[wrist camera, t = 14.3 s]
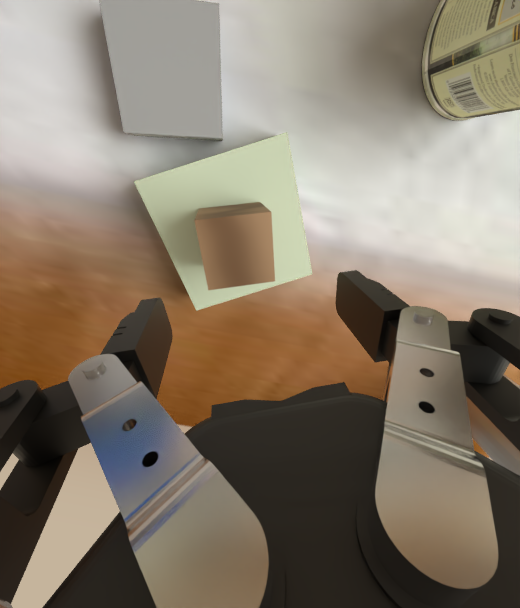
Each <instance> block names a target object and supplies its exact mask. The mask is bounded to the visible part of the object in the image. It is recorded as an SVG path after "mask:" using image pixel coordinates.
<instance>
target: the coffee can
mask: <svg viewBox="0 0 520 608" xmlns="http://www.w3.org/2000/svg"><path fill="white" fill-rule="evenodd" d="M422 79H423V85H424V90H425V93H426V96H427V98H428V100H429V102H430V104H431V105H432V107H433V108H434V109H435V110H436V111H437V112H438V113H439V114H440V115H442V116H444V117H446V118H448V119H451V120H467V119H471V118H475V117H480V116H485V115H491V114H497V113H503V112H509V111H515V110H520V0H441V1H440V3H439V5H438V7H437V9H436V11H435V13H434V16H433V18H432V21H431V24H430V27H429V29H428V32H427V36H426V41H425V46H424V50H423V58H422Z"/></svg>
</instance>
